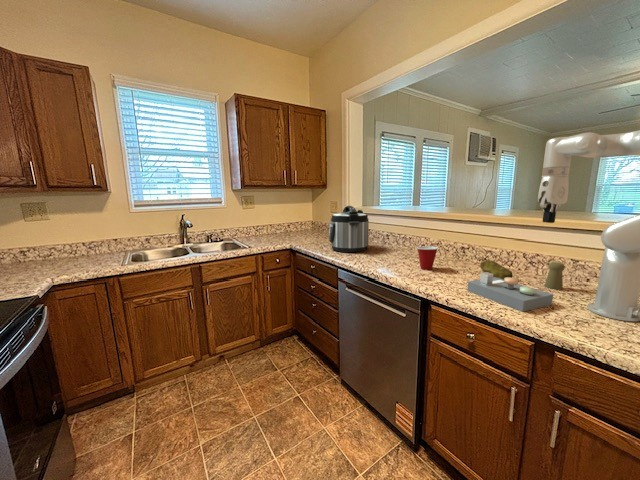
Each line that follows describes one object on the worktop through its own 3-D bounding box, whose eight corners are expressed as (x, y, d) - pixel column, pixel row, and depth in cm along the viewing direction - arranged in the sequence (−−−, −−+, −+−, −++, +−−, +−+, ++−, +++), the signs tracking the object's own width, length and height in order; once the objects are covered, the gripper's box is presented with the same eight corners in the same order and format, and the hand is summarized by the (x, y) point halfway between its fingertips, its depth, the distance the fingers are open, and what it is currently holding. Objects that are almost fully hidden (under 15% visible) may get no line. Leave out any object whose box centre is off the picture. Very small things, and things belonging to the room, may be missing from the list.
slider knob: (492, 283, 108) (493, 273, 107) (486, 284, 107) (487, 274, 106) (485, 281, 110) (486, 271, 110) (480, 282, 109) (480, 272, 109)
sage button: (536, 301, 97) (538, 289, 96) (528, 303, 96) (530, 291, 95) (523, 297, 101) (525, 285, 100) (515, 299, 100) (517, 287, 99)
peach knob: (519, 291, 102) (521, 280, 102) (511, 293, 101) (513, 281, 100) (508, 287, 106) (509, 276, 106) (500, 289, 105) (501, 278, 104)
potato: (503, 282, 122) (505, 265, 120) (476, 275, 133) (477, 259, 132) (514, 280, 125) (516, 263, 124) (487, 273, 137) (488, 257, 135)
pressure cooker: (339, 244, 216) (339, 204, 211) (373, 247, 203) (374, 205, 198) (322, 251, 190) (321, 206, 185) (360, 255, 177) (361, 207, 172)
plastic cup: (427, 265, 152) (428, 244, 150) (441, 270, 142) (442, 248, 140) (411, 266, 149) (412, 245, 147) (424, 272, 139) (425, 249, 137)
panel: (551, 304, 98) (553, 293, 97) (522, 311, 92) (523, 300, 92) (494, 285, 118) (495, 276, 117) (467, 290, 113) (468, 281, 112)
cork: (544, 284, 119) (547, 260, 118) (562, 287, 116) (566, 262, 114) (544, 288, 115) (547, 263, 113) (563, 291, 111) (567, 265, 109)
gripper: (554, 171, 93) (547, 224, 96) (580, 172, 98) (572, 222, 101) (530, 173, 100) (524, 222, 103) (556, 174, 105) (549, 220, 108)
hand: (548, 222), depth 102 cm, fingers closed
